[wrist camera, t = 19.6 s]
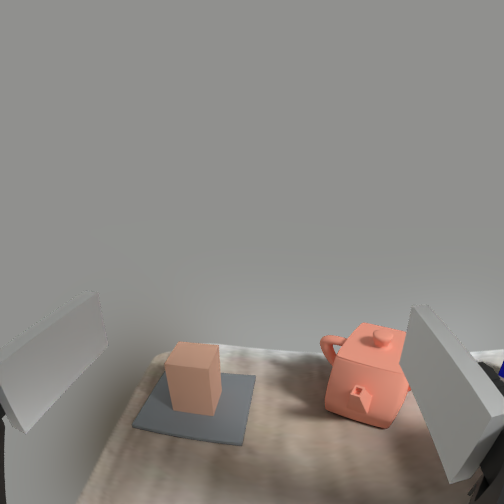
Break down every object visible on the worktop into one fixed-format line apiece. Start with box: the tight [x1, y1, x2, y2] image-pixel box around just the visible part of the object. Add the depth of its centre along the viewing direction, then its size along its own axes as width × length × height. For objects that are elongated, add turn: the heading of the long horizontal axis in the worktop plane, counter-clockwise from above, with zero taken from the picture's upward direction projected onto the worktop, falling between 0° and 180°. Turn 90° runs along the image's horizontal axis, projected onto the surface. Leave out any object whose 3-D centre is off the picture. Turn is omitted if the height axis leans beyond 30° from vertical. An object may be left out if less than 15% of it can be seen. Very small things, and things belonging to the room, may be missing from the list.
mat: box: [132, 371, 256, 446], centre depth 50 cm, size 18×18×1 cm
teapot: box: [320, 323, 411, 429], centre depth 46 cm, size 20×22×14 cm
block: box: [164, 342, 222, 416], centre depth 49 cm, size 7×7×10 cm
